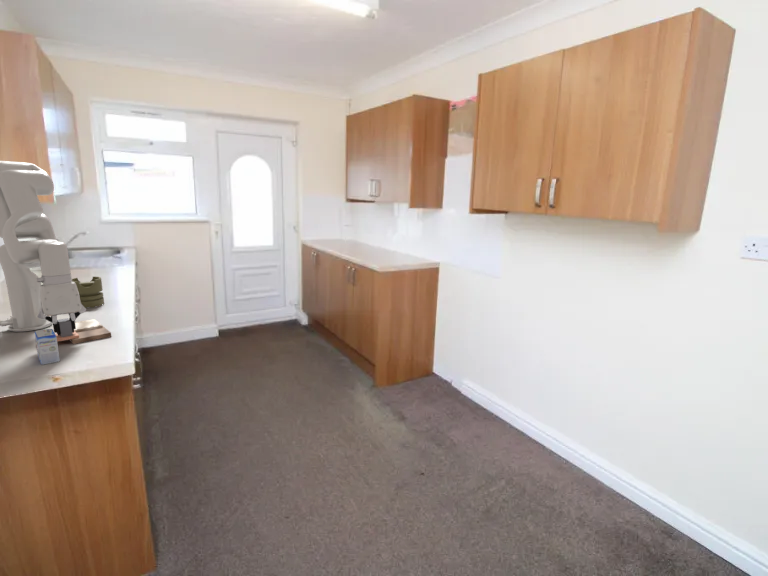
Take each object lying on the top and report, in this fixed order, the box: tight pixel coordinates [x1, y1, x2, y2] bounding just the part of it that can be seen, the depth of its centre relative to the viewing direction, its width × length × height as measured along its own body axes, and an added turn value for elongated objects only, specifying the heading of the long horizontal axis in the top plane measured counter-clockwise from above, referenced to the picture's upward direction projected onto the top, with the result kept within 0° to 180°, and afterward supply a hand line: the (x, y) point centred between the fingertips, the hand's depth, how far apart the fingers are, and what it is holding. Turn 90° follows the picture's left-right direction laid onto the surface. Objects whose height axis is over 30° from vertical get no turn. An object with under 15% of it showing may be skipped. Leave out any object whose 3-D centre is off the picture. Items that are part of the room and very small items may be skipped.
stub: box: [55, 317, 79, 343], centre depth 138 cm, size 10×7×6 cm
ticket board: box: [69, 318, 112, 345], centre depth 149 cm, size 11×20×2 cm, turn 47°
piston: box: [72, 276, 105, 309], centre depth 185 cm, size 11×12×11 cm
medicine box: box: [34, 328, 61, 366], centre depth 124 cm, size 8×4×9 cm, turn 45°
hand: (65, 332), depth 140 cm, fingers closed on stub, 3 cm apart
